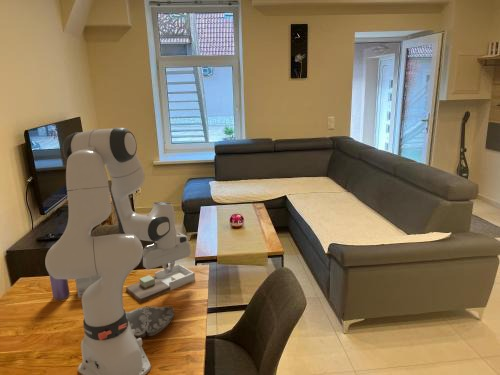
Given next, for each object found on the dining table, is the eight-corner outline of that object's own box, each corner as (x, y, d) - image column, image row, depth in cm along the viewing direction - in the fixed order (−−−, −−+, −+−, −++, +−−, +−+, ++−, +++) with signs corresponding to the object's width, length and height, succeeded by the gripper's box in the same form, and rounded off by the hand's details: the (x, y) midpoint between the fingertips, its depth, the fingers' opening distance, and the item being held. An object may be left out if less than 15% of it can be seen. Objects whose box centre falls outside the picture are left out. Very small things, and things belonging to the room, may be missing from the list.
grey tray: (194, 280, 161) (194, 272, 160) (170, 290, 153) (169, 282, 152) (179, 270, 170) (178, 263, 169) (155, 279, 162) (154, 272, 161)
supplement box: (124, 277, 165) (122, 258, 163) (122, 292, 153) (119, 271, 151) (84, 282, 162) (81, 263, 159) (77, 298, 149) (74, 277, 147)
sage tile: (154, 283, 155) (154, 278, 155) (144, 287, 152) (144, 282, 152) (149, 280, 159) (149, 275, 158) (139, 283, 156) (139, 278, 155)
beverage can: (65, 300, 148) (59, 265, 144) (50, 300, 148) (44, 266, 144) (72, 292, 153) (67, 259, 150) (58, 293, 154) (52, 259, 150)
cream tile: (186, 281, 159) (185, 276, 159) (177, 284, 156) (176, 279, 156) (180, 277, 163) (180, 272, 162) (171, 281, 160) (171, 276, 159)
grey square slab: (170, 290, 153) (170, 286, 153) (140, 302, 145) (140, 298, 144) (155, 279, 162) (154, 276, 162) (126, 290, 154) (126, 286, 154)
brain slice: (115, 348, 119) (114, 340, 119) (118, 318, 135) (117, 311, 134) (177, 336, 124) (176, 328, 124) (173, 309, 140) (172, 301, 140)
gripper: (145, 249, 142) (148, 283, 145) (191, 236, 154) (194, 267, 157) (138, 245, 146) (141, 277, 149) (183, 232, 159) (186, 262, 162)
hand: (168, 272), depth 153 cm, fingers closed
